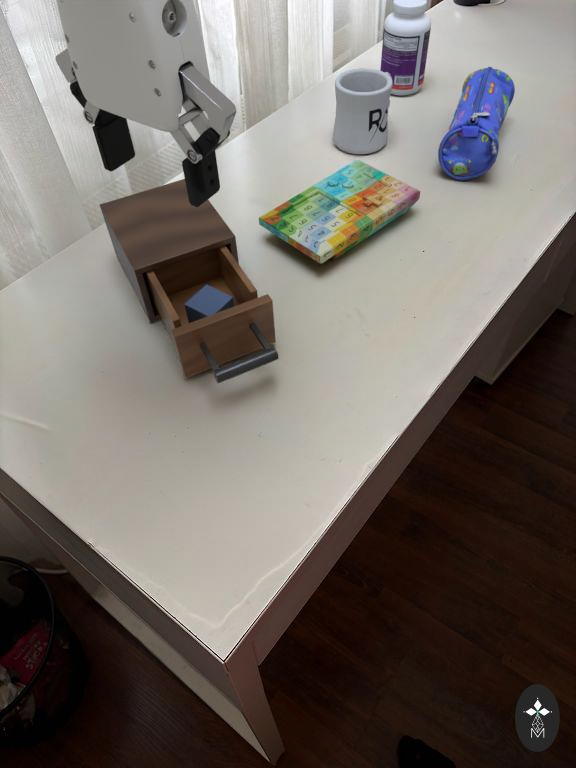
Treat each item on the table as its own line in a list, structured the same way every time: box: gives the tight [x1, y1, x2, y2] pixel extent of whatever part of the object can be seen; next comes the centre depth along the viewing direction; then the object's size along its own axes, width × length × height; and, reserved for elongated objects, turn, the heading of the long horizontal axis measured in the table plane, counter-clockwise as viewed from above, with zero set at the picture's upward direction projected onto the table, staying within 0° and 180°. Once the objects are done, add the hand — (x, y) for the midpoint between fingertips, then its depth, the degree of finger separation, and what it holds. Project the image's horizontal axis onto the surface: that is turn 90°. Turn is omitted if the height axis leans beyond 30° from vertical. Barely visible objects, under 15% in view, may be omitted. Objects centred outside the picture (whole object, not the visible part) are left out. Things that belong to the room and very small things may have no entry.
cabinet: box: [99, 178, 240, 324], centre depth 76 cm, size 15×13×9 cm
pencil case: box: [437, 66, 516, 181], centre depth 92 cm, size 22×9×10 cm, turn 160°
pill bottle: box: [379, 0, 432, 96], centre depth 104 cm, size 8×8×14 cm
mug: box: [332, 67, 393, 155], centre depth 95 cm, size 12×9×10 cm
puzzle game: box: [258, 159, 421, 264], centre depth 83 cm, size 12×5×20 cm
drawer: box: [144, 245, 279, 384], centre depth 68 cm, size 19×11×7 cm, turn 27°
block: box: [184, 285, 234, 323], centre depth 69 cm, size 4×4×4 cm
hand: (161, 180), depth 50 cm, fingers open, 9 cm apart
